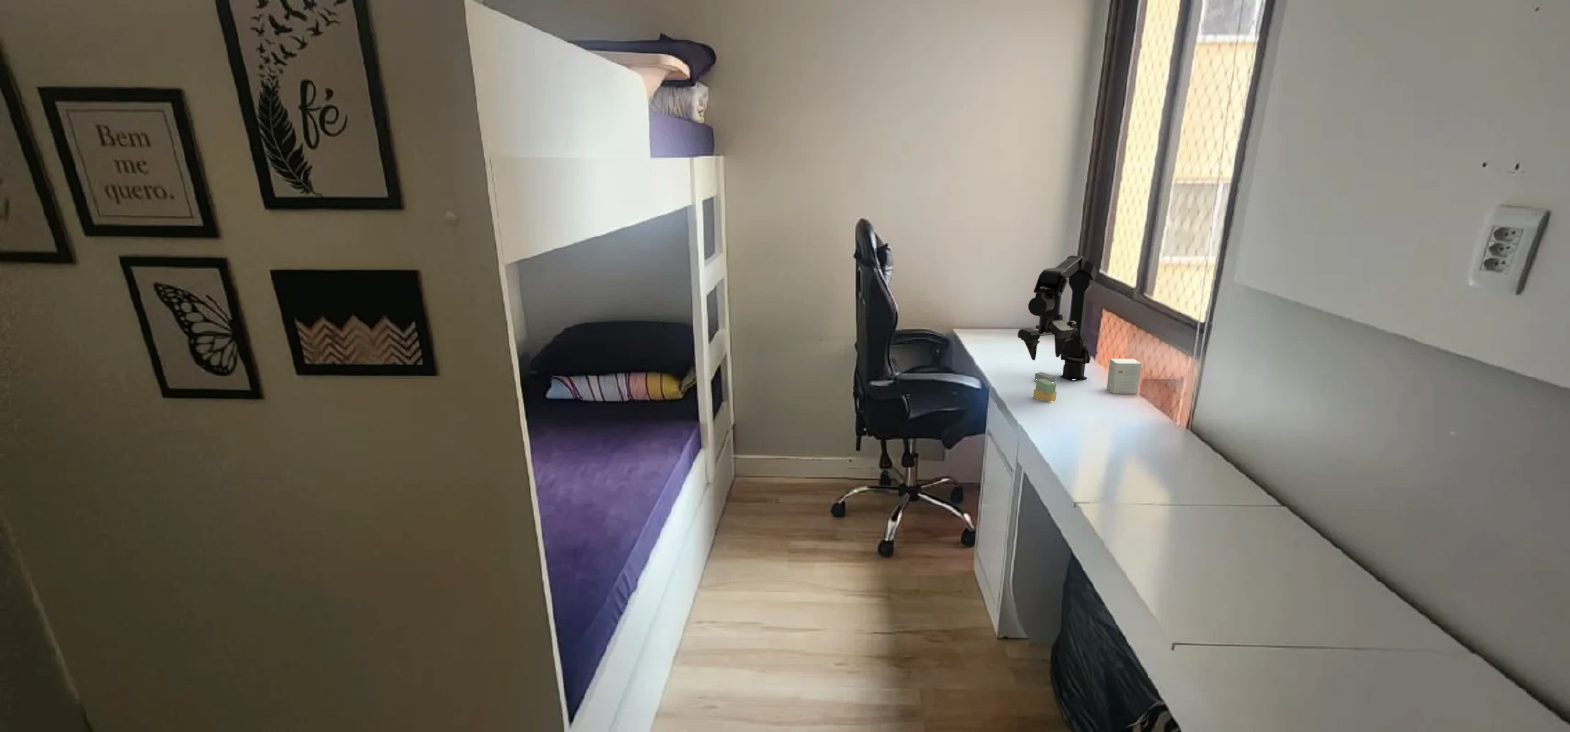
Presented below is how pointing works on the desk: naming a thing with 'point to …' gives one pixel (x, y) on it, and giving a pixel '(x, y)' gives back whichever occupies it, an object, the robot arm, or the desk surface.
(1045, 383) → the sage brick
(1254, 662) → the desk surface
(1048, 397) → the ochre brick
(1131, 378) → the small box
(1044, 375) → the slate brick
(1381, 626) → the desk surface
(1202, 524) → the desk surface
